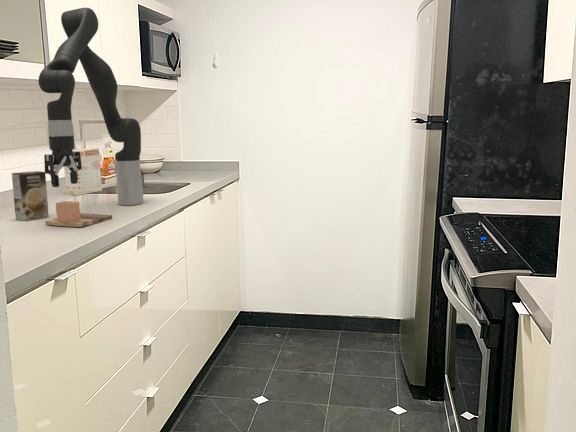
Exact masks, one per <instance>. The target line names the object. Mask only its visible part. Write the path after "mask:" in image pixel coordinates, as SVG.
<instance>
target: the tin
mask: <svg viewBox="0 0 576 432" xmlns="http://www.w3.org/2000/svg"><path fill="white" fill-rule="evenodd" d="M140 171H141V178H142V185H143V186H144V184H145V176H144V172H143V170H142V169H141V168H140Z"/></svg>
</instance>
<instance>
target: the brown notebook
mask: <svg viewBox="0 0 576 432" xmlns="http://www.w3.org/2000/svg"><path fill="white" fill-rule="evenodd" d="M80 219H85V220H93V224H92V225H96V224H99V223H102V221H103V222H105V220H106V221H110V220H113V215H112V214H98V213H97V214H96V213H85V212H84V213H83V212H82V213H81V212H80Z"/></svg>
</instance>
